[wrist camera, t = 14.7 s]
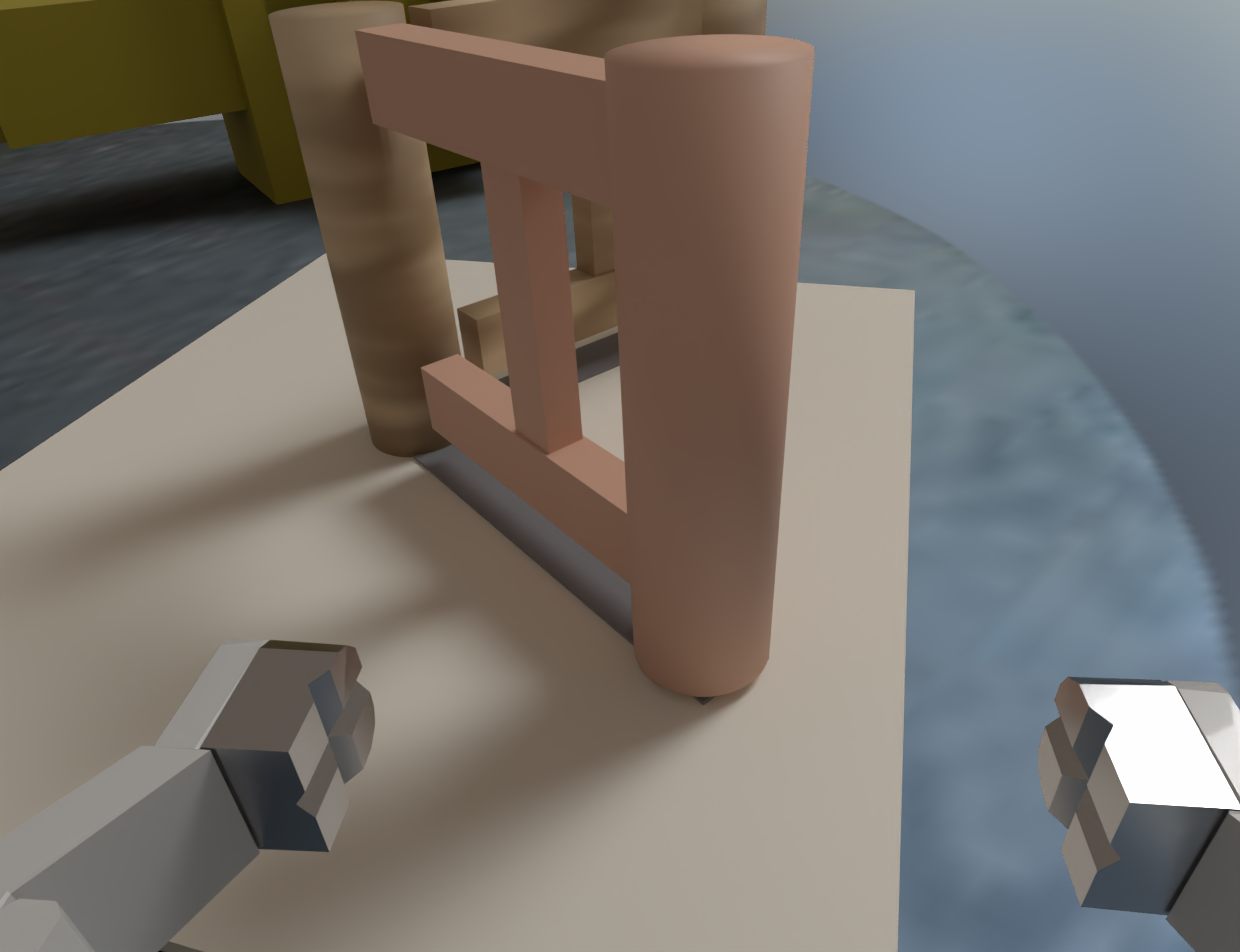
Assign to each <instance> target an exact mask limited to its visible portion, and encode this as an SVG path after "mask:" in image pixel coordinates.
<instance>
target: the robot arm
mask: <svg viewBox="0 0 1240 952" xmlns="http://www.w3.org/2000/svg"><path fill="white" fill-rule="evenodd" d="M361 669H362V664H361V662H360V659H359V656H358V653H357V651H356V648H355V647H351V646H348V645H337V644H323V643H309V642H295V641H281V640H258V639H243V638H231V639H229V640H228V641H226V642H225V643H223V644H222V645H220V646H219V647H218V649H217V650H216V652H215V653H214V655H213V656H212V658H211V659H210V661H209V663H208V664H207V666H206V667H205V669H204V670H203V672H202V673H201V675H200V676H199V678H198V679H197V681H196V682H195V684H194V685H193V687H192V688H191V690H190V691H189V693H188V694H187V696H186V697H185V699H184V701H183V702H182V704H181V705H180V707H179V708H178V710H177V711H176V713H175V714H174V716H173V717H172V719H171V720H170V722H169V723H168V725H167V726H166V728H165V729H164V731H163V732H162V734H161V735H160V737H159V739H158V740H157V742H156V743H155V745H154V746H140V747H139V748H137V749H136V750H134V751H133V752H131V753H130V754H128V755H127V756H125V757H124V758H122V759H121V760H119V761H118V762H116V763H114V764H113V765H111V766H110V767H108V768H107V769H105V770H104V771H102V772H101V773H99V774H98V775H96V776H95V777H93V778H92V779H90V780H89V781H87V782H85V783H84V784H82V785H81V786H79V787H78V788H76V789H75V790H73V791H72V792H70V793H69V794H67V795H66V796H64V797H63V798H61V799H59V800H58V801H56V802H55V803H53V804H52V805H50V806H49V807H47V808H46V809H44V810H43V811H41V812H40V813H38V814H37V815H35V816H33V817H32V818H30V819H29V820H27V821H26V822H24V823H23V824H21V825H20V826H18V827H17V828H15V829H14V830H12V831H11V832H9V833H8V834H6V835H4V836H3V837H1V838H0V952H158V951H159V950H160V949H161V948H162V947H163V946H164V945H165V944H166V943H167V942H168V941H170V940H171V939H172V938H173V937H174V936H175V935H176V934H177V933H178V932H179V931H180V930H181V929H182V928H183V927H184V926H185V925H186V924H187V923H188V922H189V921H190V920H191V919H192V918H193V917H194V916H195V915H197V914H198V913H199V912H200V911H201V910H202V909H203V908H204V907H205V906H206V905H207V904H208V903H209V902H210V901H211V900H212V899H213V898H214V897H215V896H216V895H217V894H218V893H219V892H220V891H221V890H222V889H223V888H225V887H226V886H227V885H228V884H229V883H230V882H231V881H232V880H233V879H234V878H235V877H236V876H237V875H238V874H239V873H240V872H241V871H242V870H243V869H244V868H245V867H246V866H247V865H248V864H249V863H250V862H252V861H253V860H254V859H255V858H256V857H257V856H258V855H259V854H260V851H259V849H268V850H291V851H315V852H330V850H331V847H332V845H333V842H334V840H335V837H336V835H337V833H338V830H339V828H340V825H341V823H342V820H343V818H344V816H345V813H346V811H347V808H348V806H349V803H350V800H349V797H348V794H347V791H346V788H345V785H344V784H346V783H347V782H348V781H349V780H351V779H352V778H353V777H354V776H356V775H357V774H358V773H359V772H360V771H362V770H363V769H364V766H365V764H366V761H367V758H368V756H369V753H370V750H371V747H372V741H373V735H374V729H375V712H374V704H373V700H372V697H371V694H370V692H369V691H368V690H367V689H366V688H365V687H363V686H362V685H361V684H360V683H359V682H357V681H356V680H357V678H358V675H359V673H360V671H361ZM1055 703H1056V706H1057V708H1058V711H1059V713H1060V717H1059V718H1057V719H1056V720H1054V721H1053V722H1051V723H1050V724H1048V725H1047V726H1045V728H1044V732H1043V735H1042V738H1041V742H1040V745H1039V766H1038V771H1039V777H1040V783H1041V788H1042V793H1043V796H1044V799H1045V802H1046V805H1047V808H1048V811H1049V812H1050V813H1051V814H1052V815H1053V816H1054V817H1055V818H1056V819H1057V820H1059V821H1060V822H1061V823H1062V824H1063V825H1064V826H1065V827H1066V828H1067V829H1068V832H1067V834H1066V837H1065V839H1064V842H1063V844H1062V847H1061V850H1062V853H1063V856H1064V859H1065V862H1066V865H1067V868H1068V871H1069V874H1070V877H1071V879H1072V882H1073V885H1074V888H1075V891H1076V894H1077V897H1078V900H1079V903H1080V906H1081V907H1088V908H1099V909H1109V910H1119V911H1129V912H1139V913H1149V914H1159V915H1168V916H1167V918H1166V920H1167V921H1168V922H1169V923H1170V924H1171V925H1172V927H1173V928H1174V929H1175V930H1176V931H1177V932H1178V933H1179V934H1180V935H1181V936H1182V937H1183V938H1184V940H1185V941H1186V942H1187V943H1188V944H1189V945H1190V946H1191V947H1192V948H1193V949H1194V950H1195V951H1196V952H1240V711H1239V709H1238V708H1237V706H1236V704H1235V703H1234V701H1233V699H1232V698H1231V696H1230V694H1229V693H1228V691H1227V690H1226V689H1225V688H1223V687H1222V686H1221V685H1219V684H1218V683H1216V682H1190V681H1161V680H1146V679H1117V678H1088V677H1067V678H1066V679H1065V680H1064V681H1063V682H1062V683H1061V684H1060V686H1059V689H1058V692H1057V694H1056V697H1055Z"/></svg>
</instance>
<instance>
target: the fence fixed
mask: <svg viewBox="0 0 1240 952" xmlns="http://www.w3.org/2000/svg"><path fill="white" fill-rule="evenodd" d="M766 8H767V0H451V1H443V2H436V3H428V4H421V5H413V6H408V11H409V18H410V24H411V25H416V26H422V27H428V28H433V29H439V30H445V31H450V32H456V33H462V34H467V35H473V36H479V37H484V38H490V39H496V40H502V41H507V42H513V43H519V44H524V45H530V46H536V47H541V48H547V49H553V50H558V51H564V52H570V53H575V54H581V55H587V56H592V57H598V58H604V56H605V54H606V53H607V52H608V51H610V50H612V49H614V48H617V47H620V46H623V45H627V44H631V43H636V42H641V41H646V40H653V39H660V38H669V37H679V36H692V35H715V34H744V35H764V36H765V28H766ZM268 17H269V21H270V25H271V30H272V34H273V38H274V42H275V46H276V50H277V54H278V58H279V62H280V66H281V70H282V75H283V79H284V83H285V87H286V91H287V95H288V99H289V103H290V107H291V111H292V116H293V120H294V124H295V128H296V132H297V136H298V140H299V144H300V148H301V152H302V157H303V161H304V165H305V169H306V173H307V177H308V181H309V185H310V189H311V193H312V197H313V202H314V206H315V210H316V214H317V218H318V222H319V226H320V230H321V234H322V238H323V243H324V247H325V251H326V255H327V259H328V263H329V267H330V271H331V275H332V279H333V283H334V288H335V292H336V296H337V300H338V304H339V308H340V312H341V316H342V320H343V324H344V329H345V333H346V337H347V341H348V345H349V349H350V353H351V357H352V361H353V365H354V369H355V374H356V378H357V382H358V386H359V390H360V394H361V398H362V402H363V406H364V410H365V415H366V419H367V423H368V427H369V431H370V435H371V439H372V443H373V444H374V446H375V447H376V448H377V449H378V450H380V451H381V452H383V453H386V454H388V455H392V456H397V457H413V456H412V455H414V454H423V453H429V452H433V451H437V450H440V449H443V448H445V447H448V446H450V445H452V443H450V442H449V441H448V440H446V439H445V438H444V437H443V436H441V435H440V434H439V433H438V432H436V431H435V430H434V429H433V428H432V424H431V419H430V414H429V408H428V403H427V398H426V393H425V388H424V383H423V378H422V373H421V367H423V366H426V365H429V364H432V363H434V362H437V361H440V360H442V359H445V358H448V357H451V356H453V355H456V354H459V355H460V356H461V352H460V346H459V340H458V334H457V328H456V322H455V316H454V310H453V304H452V298H451V292H450V286H449V279H448V273H447V267H446V261H445V255H444V249H443V243H442V237H441V231H440V225H439V219H438V213H437V207H436V201H435V194H434V188H433V182H432V176H431V170H430V164H429V158H428V152H427V146H426V142H423V141H420V140H418V139H415V138H412V137H409V136H406V135H404V134H401V133H398V132H395V131H392V130H389V129H387V128H384V127H381V126H378V125H375V124H373V122H372V117H371V112H370V107H369V102H368V97H367V92H366V86H365V81H364V76H363V71H362V66H361V61H360V56H359V51H358V46H357V40H356V35H355V30H358V29H365V28H372V27H379V26H386V25H393V24H400V23H405V24H406V18H405V12H404V6H403V4H402V3H400V2H393V1H351V2H337V3H325V4H316V5H308V6H301V7H294V8H289V9H284V10H280V11H276V12H273V13H270V14H269V15H268ZM572 205H573V219H574V232H575V245H576V258H577V268H576V269H573V270H570V271H569V275H570V287H571V300H572V312H573V324H574V337H575V342H578V341H580V340H583V339H586V338H588V337H591V336H593V335H596V334H598V333H601V332H604V331H606V330H609V329H611V328H614V327H616V326H618V323H617V303H616V283H615V263H614V243H613V223H612V208H609V207H607V206H604V205H601V204H598V203H595V202H593V201H590V200H587V199H584V198H581V197H578V196H576V195H573V194H572ZM457 313H458V320H459V326H460V332H461V338H462V344H463V350H464V357H465V359H466V360H468V361H469V362H471V363H473V364H474V365H476V366H477V367H479V368H480V369H482V370H483V371H485V372H486V373H488V374H489V375H493V374H496V373H498V372H501V371H504V370H506V369H508V367H507V359H506V352H505V344H504V337H503V329H502V322H501V314H500V306H499V299H498V295H496V296H493V297H490V298H487V299H484V300H481V301H478V302H475V303H472V304H469V305H466V306H463V307H460V308H457Z"/></svg>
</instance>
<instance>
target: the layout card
mask: <svg viewBox="0 0 1240 952" xmlns="http://www.w3.org/2000/svg"><path fill="white" fill-rule="evenodd" d="M445 261H446V267H447V273H448V279H449V286H450V292H451V298H452V304H453V310H454V316H455V322H456V328H457V334H458V340H459V346H460V352H461V356H462V357H463V358H465V357H464V350H463V344H462V338H461V332H460V326H459V320H458V313H457V308H460V307H463V306H466V305H469V304H472V303H475V302H478V301H481V300H484V299H487V298H490V297H493V296H496V295H498V291H497V284H496V276H495V269H494V263H488V262H473V261H458V260H445ZM573 269H576V268H569V271H570V270H573ZM914 302H915V290H900V289H885V288H870V287H854V286H839V285H824V284H809V283H797V293H796V306H795V319H794V333H793V346H792V359H791V373H790V386H789V399H788V413H787V426H786V439H785V453H784V466H783V479H782V493H781V506H780V519H779V533H778V546H777V559H776V573H775V586H774V599H773V613H772V626H771V639H770V653H769V658H768V661H767V664H766V666H765V668H764V669H763V671H762V673H761V674H760V675H759V676H758V677H757V678H756V679H755V680H754V681H752V682H751V683H750V684H748V685H747V686H745V687H744V688H741V689H739V690H737V691H735V692H732V693H729V694H725V695H720V696H712V697H696V696H688V695H683V694H679V693H676V692H673V691H670V690H668V689H666V688H664V687H662V686H660V685H658V684H657V683H655V682H654V681H653V680H651V679H650V678H649V677H648V676H647V675H646V674H645V673H644V672H643V670H642V669H641V667H640V666H639V664H638V662H637V660H636V657H635V653H634V642H633V622H632V602H631V585H630V584H629V583H628V582H626V581H625V580H624V579H623V578H621V577H620V576H619V575H618V574H616V573H615V572H614V571H613V570H611V569H610V568H609V567H607V566H606V565H605V564H604V563H602V562H601V561H600V560H599V559H597V558H596V557H595V556H594V555H592V554H591V553H590V552H588V551H587V550H586V549H585V548H583V547H582V546H581V545H580V544H578V543H577V542H576V541H574V540H573V539H572V538H571V537H569V536H568V535H567V534H566V533H564V532H563V531H562V530H561V529H559V528H558V527H557V526H555V525H554V524H553V523H552V522H550V521H549V520H548V519H547V518H545V517H544V516H543V515H542V514H540V513H539V512H538V511H536V510H535V509H534V508H533V507H531V506H530V505H529V504H528V503H526V502H525V501H524V500H523V499H521V498H520V497H519V496H517V495H516V494H515V493H514V492H512V491H511V490H510V489H509V488H507V487H506V486H505V485H504V484H502V483H501V482H500V481H498V480H497V479H496V478H495V477H493V476H492V475H491V474H490V473H488V472H487V471H486V470H484V469H483V468H482V467H481V466H479V465H478V464H477V463H476V462H474V461H473V460H472V459H471V458H469V457H468V456H467V455H465V454H464V453H463V452H462V451H460V450H459V449H458V448H457V447H455V446H454V445H453V444H452V445H450V446H448V447H445V448H443V449H440V450H437V451H433V452H429V453H423V454H414V455H412V456H413V457H397V456H392V455H388V454H386V453H383V452H381V451H380V450H378V449H377V448H376V447H375V446H374V444H373V443H372V439H371V435H370V431H369V427H368V423H367V419H366V415H365V410H364V406H363V402H362V398H361V394H360V390H359V386H358V382H357V378H356V374H355V369H354V365H353V361H352V357H351V353H350V349H349V345H348V341H347V337H346V333H345V329H344V324H343V320H342V316H341V312H340V308H339V304H338V300H337V296H336V292H335V288H334V283H333V279H332V275H331V271H330V267H329V263H328V259H327V255H326V253H325V254H324V255H322V256H321V257H319V258H318V259H316V260H315V261H313V262H312V263H310V264H309V265H307V266H306V267H305V268H303V269H302V270H300V271H299V272H297V273H296V274H294V275H293V276H291V277H290V278H288V279H287V280H285V281H284V282H282V283H281V284H279V285H278V286H276V287H275V288H273V289H272V290H270V291H269V292H267V293H266V294H264V295H263V296H261V297H260V298H258V299H257V300H255V301H254V302H252V303H251V304H249V305H248V306H246V307H245V308H243V309H242V310H240V311H239V312H237V313H236V314H234V315H233V316H231V317H230V318H228V319H227V320H225V321H224V322H222V323H221V324H219V325H218V326H216V327H215V328H213V329H212V330H210V331H209V332H207V333H206V334H204V335H203V336H201V337H200V338H198V339H197V340H195V341H194V342H193V343H191V344H190V345H188V346H187V347H185V348H184V349H182V350H181V351H179V352H178V353H176V354H175V355H173V356H172V357H170V358H169V359H167V360H166V361H164V362H163V363H161V364H160V365H158V366H157V367H155V368H154V369H152V370H151V371H149V372H148V373H146V374H145V375H143V376H142V377H140V378H139V379H137V380H136V381H134V382H133V383H131V384H130V385H128V386H127V387H125V388H124V389H122V390H121V391H119V392H118V393H116V394H115V395H113V396H112V397H110V398H109V399H107V400H106V401H104V402H103V403H101V404H100V405H98V406H97V407H95V408H94V409H92V410H91V411H89V412H88V413H86V414H85V415H83V416H82V417H81V418H79V419H78V420H76V421H75V422H73V423H72V424H70V425H69V426H67V427H66V428H64V429H63V430H61V431H60V432H58V433H57V434H55V435H54V436H52V437H51V438H49V439H48V440H46V441H45V442H43V443H42V444H40V445H39V446H37V447H36V448H34V449H33V450H31V451H30V452H28V453H27V454H25V455H24V456H22V457H21V458H19V459H18V460H16V461H15V462H13V463H12V464H10V465H9V466H7V467H6V468H4V469H3V470H1V471H0V838H1V837H3V836H4V835H6V834H8V833H9V832H11V831H12V830H14V829H15V828H17V827H18V826H20V825H21V824H23V823H24V822H26V821H27V820H29V819H30V818H32V817H33V816H35V815H37V814H38V813H40V812H41V811H43V810H44V809H46V808H47V807H49V806H50V805H52V804H53V803H55V802H56V801H58V800H59V799H61V798H63V797H64V796H66V795H67V794H69V793H70V792H72V791H73V790H75V789H76V788H78V787H79V786H81V785H82V784H84V783H85V782H87V781H89V780H90V779H92V778H93V777H95V776H96V775H98V774H99V773H101V772H102V771H104V770H105V769H107V768H108V767H110V766H111V765H113V764H114V763H116V762H118V761H119V760H121V759H122V758H124V757H125V756H127V755H128V754H130V753H131V752H133V751H134V750H136V749H137V748H139V747H140V746H154V745H155V743H156V742H157V740H158V739H159V737H160V735H161V734H162V732H163V731H164V729H165V728H166V726H167V725H168V723H169V722H170V720H171V719H172V717H173V716H174V714H175V713H176V711H177V710H178V708H179V707H180V705H181V704H182V702H183V701H184V699H185V697H186V696H187V694H188V693H189V691H190V690H191V688H192V687H193V685H194V684H195V682H196V681H197V679H198V678H199V676H200V675H201V673H202V672H203V670H204V669H205V667H206V666H207V664H208V663H209V661H210V659H211V658H212V656H213V655H214V653H215V652H216V650H217V649H218V647H219V646H220V645H222V644H223V643H225V642H226V641H228V640H229V639H231V638H243V639H258V640H281V641H295V642H309V643H323V644H337V645H348V646H351V647H355V648H356V651H357V653H358V656H359V659H360V662H361V664H362V669H361V671H360V673H359V675H358V678H357V680H356V681H357V682H359V683H360V684H361V685H362V686H363V687H365V688H366V689H367V690H368V691H369V692H370V694H371V697H372V700H373V704H374V712H375V729H374V735H373V741H372V747H371V750H370V753H369V756H368V758H367V761H366V764H365V766H364V769H363V770H362V771H360V772H359V773H358V774H357V775H356V776H354V777H353V778H352V779H351V780H349V781H348V782H347V783H346V784H344V785H345V788H346V791H347V794H348V797H349V800H350V803H349V806H348V808H347V811H346V813H345V816H344V818H343V820H342V823H341V825H340V828H339V830H338V833H337V835H336V837H335V840H334V842H333V845H332V847H331V850H330V852H315V851H291V850H268V849H259V851H260V854H259V855H258V856H257V857H256V858H255V859H254V860H253V861H252V862H250V863H249V864H248V865H247V866H246V867H245V868H244V869H243V870H242V871H241V872H240V873H239V874H238V875H237V876H236V877H235V878H234V879H233V880H232V881H231V882H230V883H229V884H228V885H227V886H226V887H225V888H223V889H222V890H221V891H220V892H219V893H218V894H217V895H216V896H215V897H214V898H213V899H212V900H211V901H210V902H209V903H208V904H207V905H206V906H205V907H204V908H203V909H202V910H201V911H200V912H199V913H198V914H197V915H195V916H194V917H193V918H192V919H191V920H190V921H189V922H188V923H187V924H186V925H185V926H184V927H183V928H182V929H181V930H180V931H179V932H178V933H177V934H176V935H175V936H174V937H173V938H172V939H171V940H170V941H168V942H167V943H166V944H165V945H164V946H163V947H162V948H161V949H160V950H161V951H164V952H897V949H898V911H899V873H900V834H901V796H902V758H903V720H904V682H905V644H906V606H907V568H908V530H909V492H910V454H911V416H912V378H913V340H914ZM575 349H576V361H577V374H578V386H579V398H580V410H581V423H582V435H583V436H585V437H586V438H588V439H590V440H591V441H593V442H594V443H596V444H597V445H599V446H600V447H602V448H603V449H605V450H606V451H608V452H610V453H611V454H613V455H614V456H616V457H617V458H619V459H620V460H622V461H623V462H624V443H623V423H622V403H621V383H620V363H619V343H618V326H616V327H614V328H611V329H609V330H606V331H604V332H601V333H598V334H596V335H593V336H591V337H588V338H586V339H583V340H580V341H578V342H575ZM491 376H493V377H494V378H496V379H497V380H499V381H500V382H502V383H503V384H505V385H506V386H508V387H509V388H510V382H509V375H508V369H506V370H504V371H501V372H498V373H496V374H493V375H491Z"/></svg>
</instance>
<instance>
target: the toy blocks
mask: <svg viewBox="0 0 1240 952" xmlns="http://www.w3.org/2000/svg"><path fill="white" fill-rule="evenodd" d="M351 1H393V2H400V3H402V4H403V6H404V12H405V18H406V24H410V18H409V11H408V6H413V5H421V4H428V3H436V2H443V1H451V0H0V143H2V142H7V144H8V146H9V148H10V149H14V148H20V147H26V146H31V145H37V144H43V143H49V142H55V141H61V140H67V139H73V138H79V137H85V136H91V135H97V134H103V133H109V132H114V131H120V130H126V129H132V128H138V127H144V126H150V125H156V124H162V123H168V122H174V121H180V120H185V119H192V118H197V117H203V116H209V115H215V114H221V113H222V115H223V118H224V122H225V125H226V129H227V132H228V136H229V139H230V143H231V146H232V150H233V153H234V157H235V160H236V164H237V167H238V171H239V173H241V174H242V175H243V176H244V177H245V178H246V179H248V180H249V181H250V182H251V183H252V184H253V185H254V186H256V187H257V188H258V189H259V190H260V191H261V192H263V193H264V194H265V195H266V196H267V197H268V198H270V199H271V200H272V201H273V202H274V203H275V204H277V205H279V204H284V203H289V202H293V201H298V200H303V199H308V198H312V193H311V189H310V185H309V181H308V177H307V173H306V169H305V165H304V161H303V157H302V152H301V148H300V144H299V140H298V136H297V132H296V128H295V124H294V120H293V116H292V111H291V107H290V103H289V99H288V95H287V91H286V87H285V83H284V79H283V75H282V70H281V66H280V62H279V58H278V54H277V50H276V46H275V42H274V38H273V34H272V30H271V25H270V21H269V17H268V15H269V14H270V13H273V12H276V11H280V10H284V9H289V8H294V7H301V6H308V5H316V4H325V3H337V2H351ZM426 146H427V152H428V158H429V164H430V170H431V172H436V171H440V170H445V169H450V168H455V167H459V166H464V165H469V164H473V163H478V162H480V161H477V160H474V159H471V158H468V157H466V156H463V155H460V154H457V153H454V152H451V151H449V150H446V149H443V148H440V147H437V146H435V145H432V144H429V143H426Z"/></svg>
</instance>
